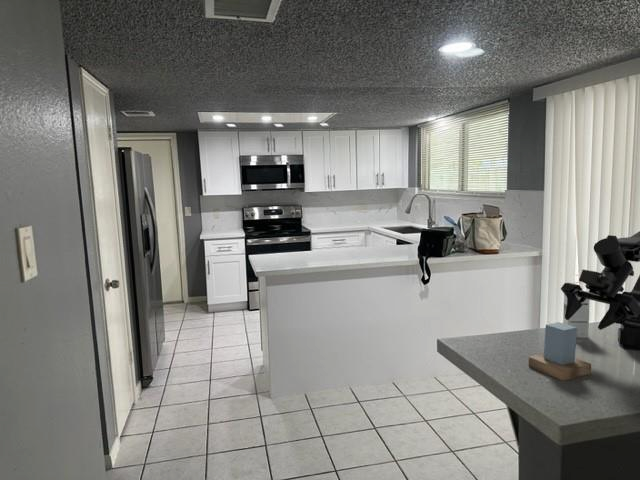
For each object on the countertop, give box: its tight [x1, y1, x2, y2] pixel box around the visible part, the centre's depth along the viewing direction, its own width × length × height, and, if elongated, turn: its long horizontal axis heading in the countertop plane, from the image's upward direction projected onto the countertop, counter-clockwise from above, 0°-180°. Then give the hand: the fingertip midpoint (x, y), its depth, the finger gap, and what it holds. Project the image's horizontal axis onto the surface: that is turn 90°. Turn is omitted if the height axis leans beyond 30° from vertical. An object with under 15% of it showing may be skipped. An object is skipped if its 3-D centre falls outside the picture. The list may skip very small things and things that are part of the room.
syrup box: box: [562, 288, 591, 339], centre depth 137 cm, size 6×6×14 cm
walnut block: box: [528, 352, 592, 381], centre depth 112 cm, size 10×10×3 cm
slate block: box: [543, 321, 577, 365], centre depth 111 cm, size 5×5×9 cm
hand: (582, 323), depth 114 cm, fingers open, 9 cm apart
